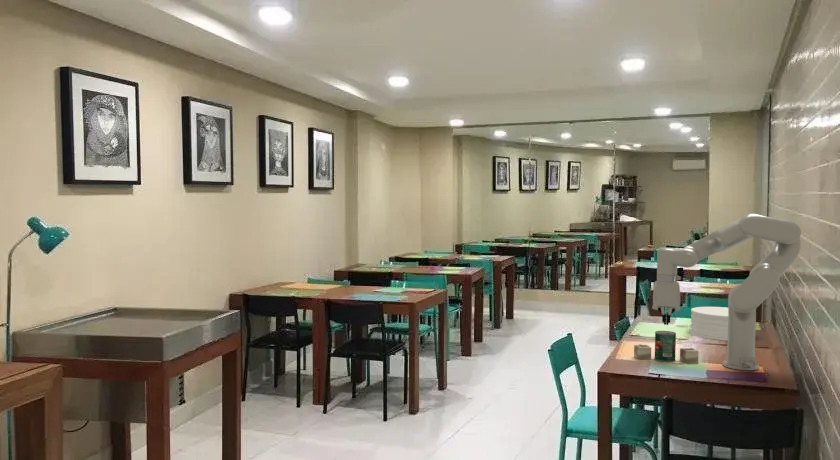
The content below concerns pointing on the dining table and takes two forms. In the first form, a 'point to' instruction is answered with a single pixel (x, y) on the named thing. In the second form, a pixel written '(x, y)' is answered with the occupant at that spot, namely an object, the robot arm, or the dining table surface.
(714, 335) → the plate stack
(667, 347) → the canned tomato
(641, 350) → the marked block two
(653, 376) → the dining table surface
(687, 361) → the marked block one
